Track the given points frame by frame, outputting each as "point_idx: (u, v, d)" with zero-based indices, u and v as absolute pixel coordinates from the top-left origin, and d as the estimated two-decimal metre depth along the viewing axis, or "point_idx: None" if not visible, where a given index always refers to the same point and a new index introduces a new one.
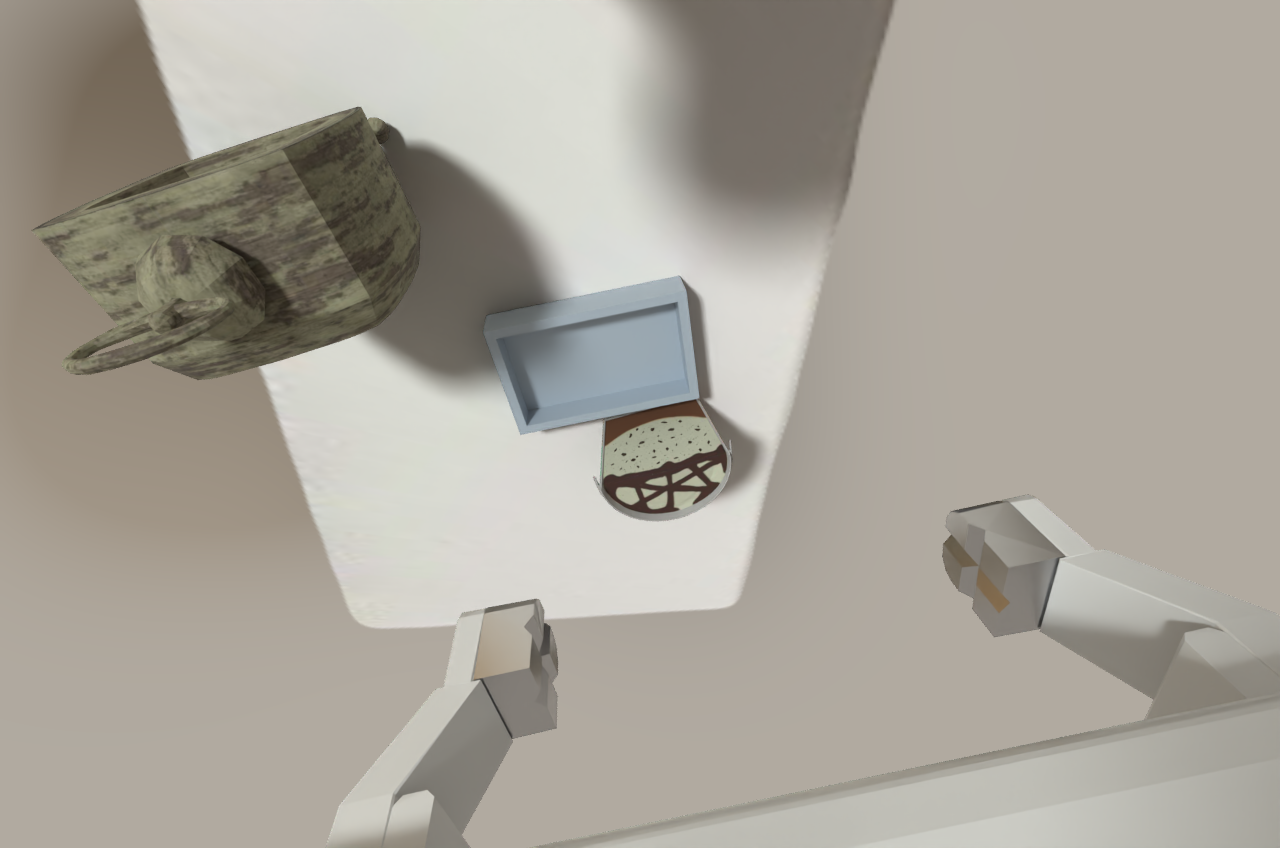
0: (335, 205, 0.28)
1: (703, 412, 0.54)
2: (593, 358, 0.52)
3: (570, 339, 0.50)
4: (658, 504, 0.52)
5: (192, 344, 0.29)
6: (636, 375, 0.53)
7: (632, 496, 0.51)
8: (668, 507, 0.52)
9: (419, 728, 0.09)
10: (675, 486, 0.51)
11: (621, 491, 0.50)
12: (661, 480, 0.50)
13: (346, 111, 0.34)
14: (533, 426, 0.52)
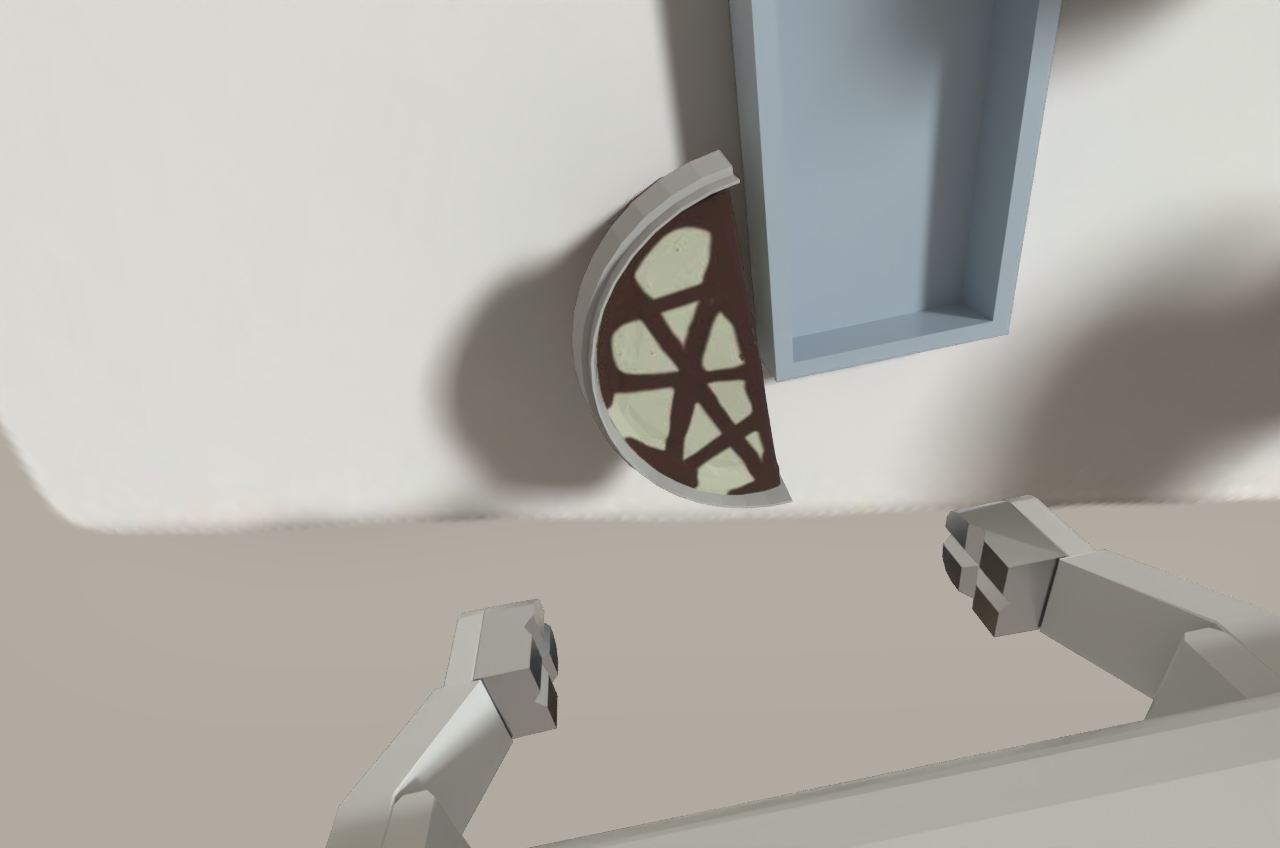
0: None
1: None
2: (863, 145, 0.24)
3: (919, 92, 0.23)
4: (628, 353, 0.18)
5: None
6: (801, 244, 0.26)
7: (669, 278, 0.17)
8: (616, 379, 0.19)
9: (419, 728, 0.09)
10: (692, 390, 0.19)
11: (693, 244, 0.17)
12: (726, 356, 0.18)
13: None
14: None
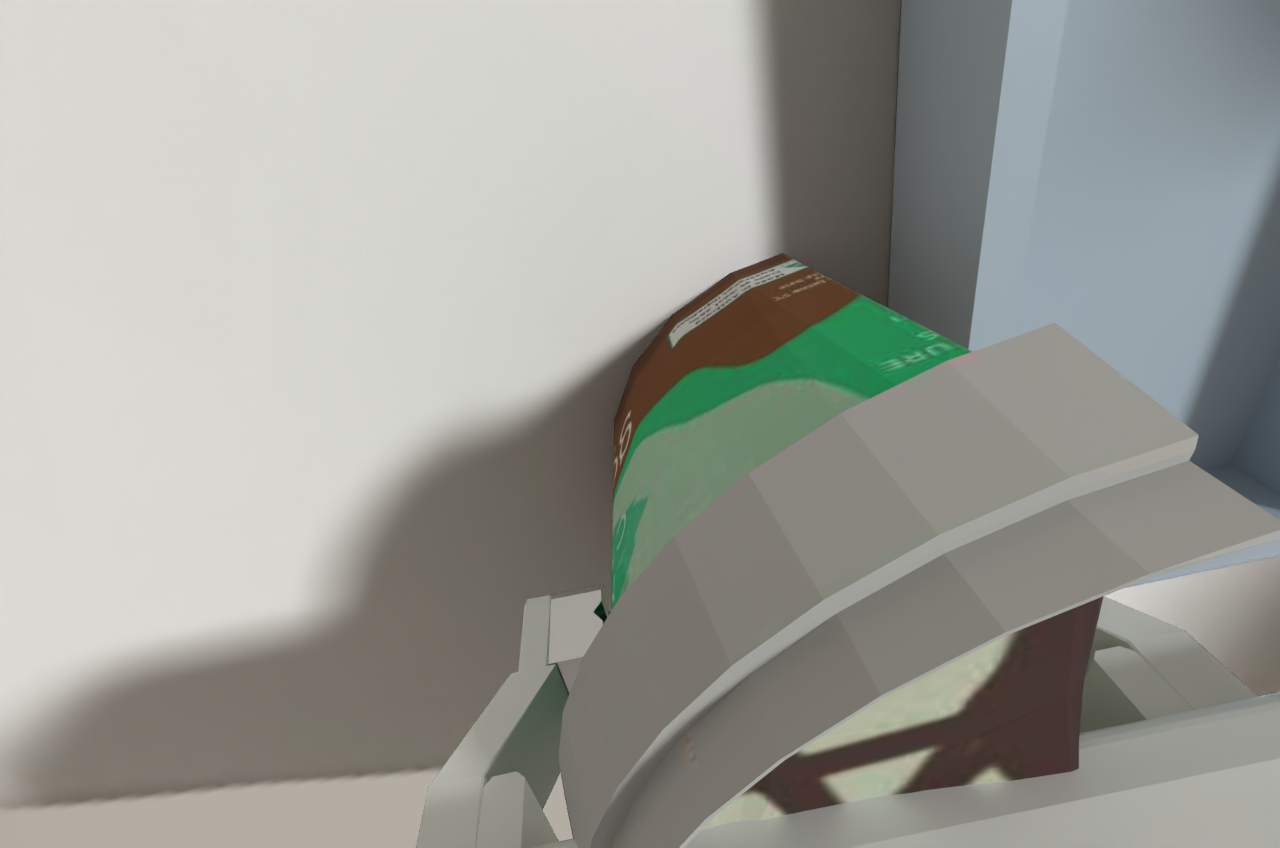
0: None
1: None
2: (1131, 212, 0.12)
3: (1264, 110, 0.11)
4: None
5: None
6: None
7: (862, 710, 0.05)
8: None
9: (500, 711, 0.09)
10: None
11: None
12: None
13: None
14: None
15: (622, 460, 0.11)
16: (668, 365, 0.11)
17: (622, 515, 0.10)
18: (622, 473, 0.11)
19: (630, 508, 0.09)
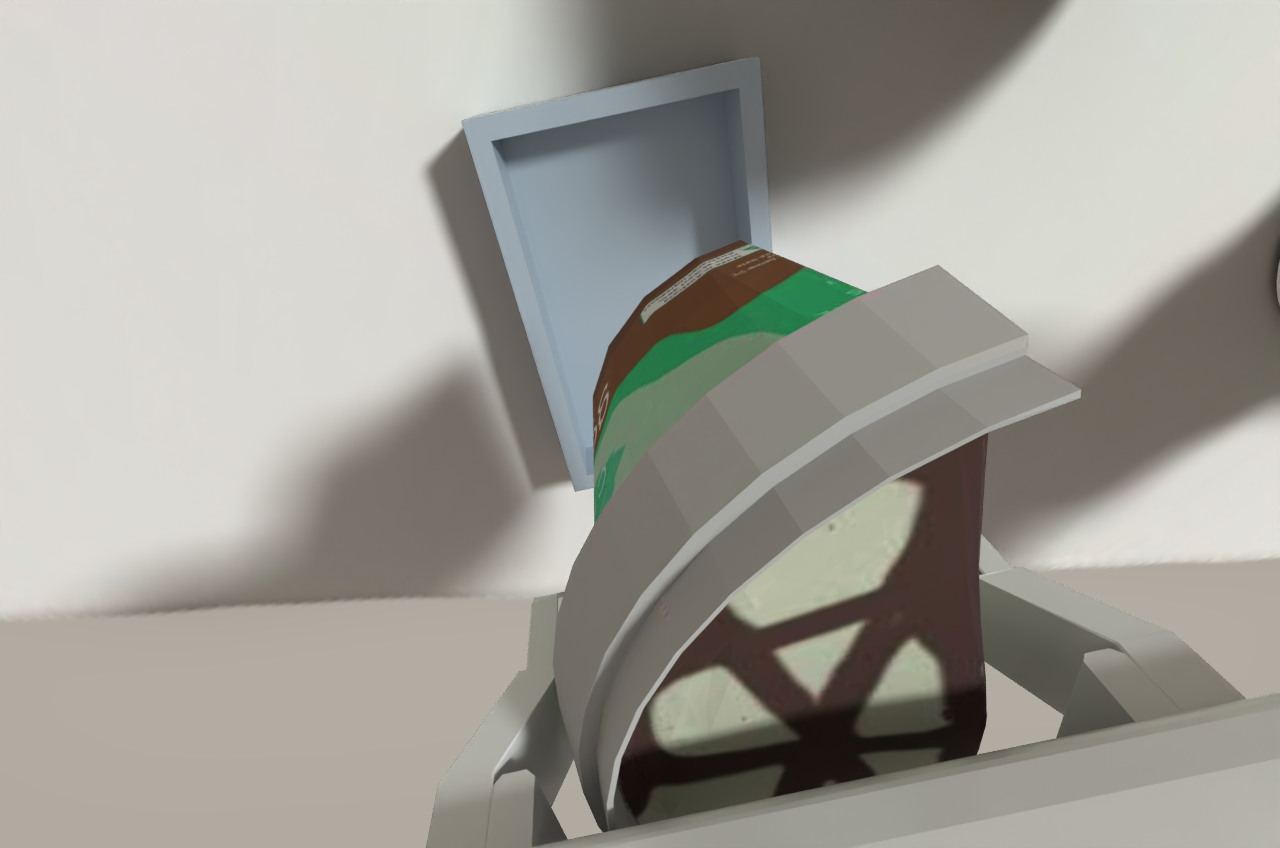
0: None
1: None
2: (633, 287, 0.26)
3: (677, 244, 0.26)
4: (688, 723, 0.08)
5: None
6: (592, 368, 0.28)
7: (802, 585, 0.07)
8: (658, 768, 0.08)
9: (508, 709, 0.09)
10: (824, 764, 0.09)
11: (873, 513, 0.06)
12: (912, 714, 0.08)
13: None
14: (490, 160, 0.21)
15: (601, 426, 0.13)
16: (640, 338, 0.12)
17: (602, 468, 0.11)
18: (601, 436, 0.12)
19: (609, 459, 0.11)
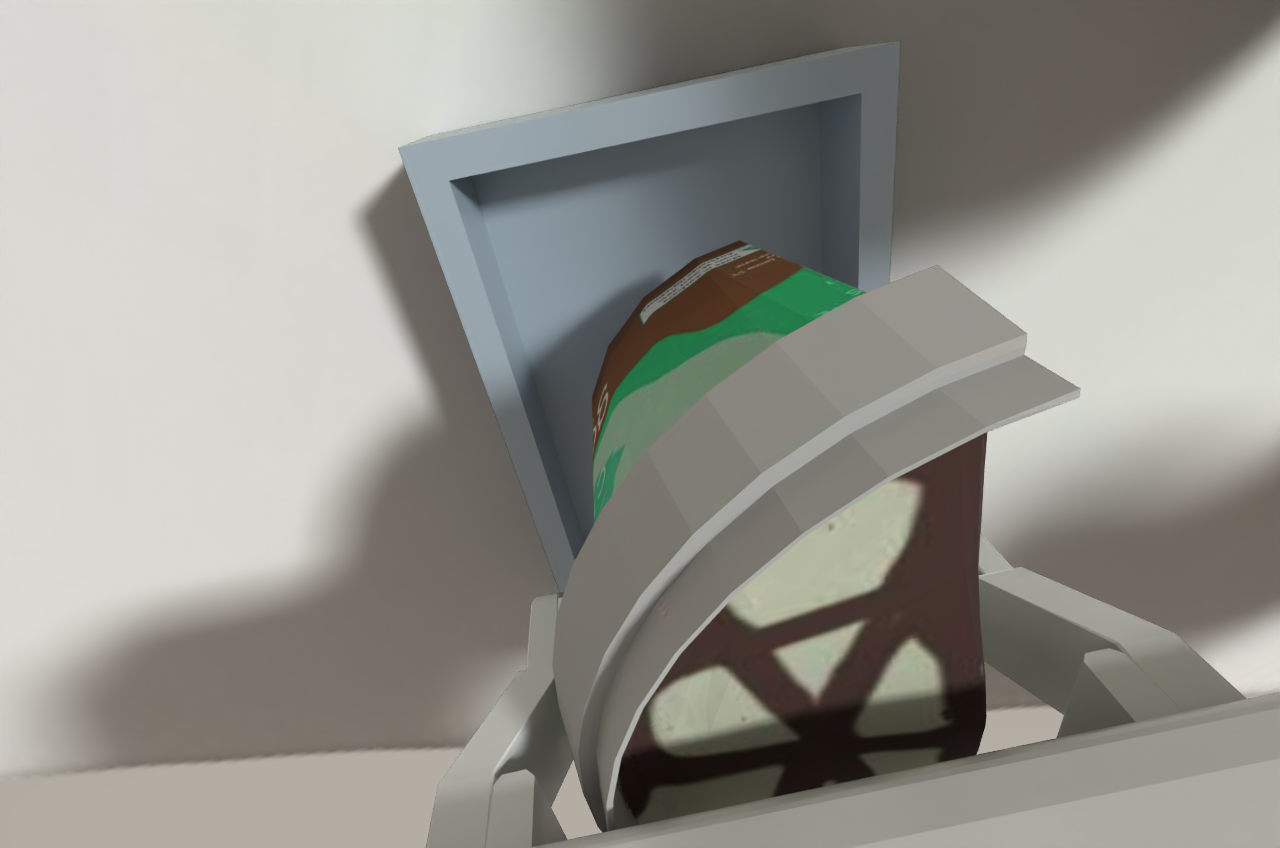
0: None
1: None
2: None
3: None
4: (688, 723, 0.08)
5: None
6: None
7: (802, 585, 0.07)
8: (658, 768, 0.08)
9: (508, 710, 0.09)
10: (823, 765, 0.09)
11: (873, 513, 0.06)
12: (912, 715, 0.08)
13: None
14: (449, 212, 0.13)
15: (600, 426, 0.13)
16: (640, 339, 0.12)
17: (602, 469, 0.11)
18: (601, 436, 0.12)
19: (609, 460, 0.11)
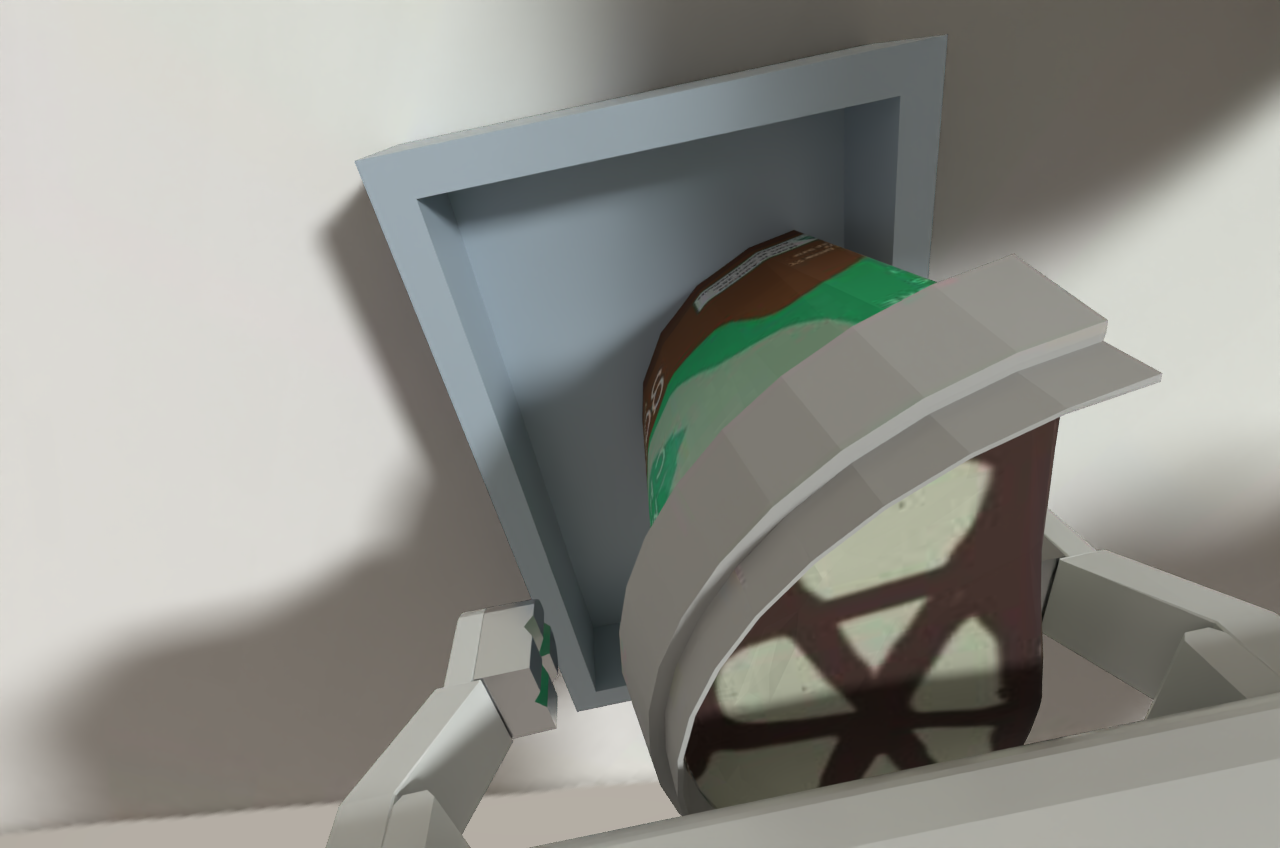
0: None
1: None
2: None
3: None
4: (751, 690, 0.08)
5: None
6: (604, 527, 0.18)
7: (870, 560, 0.07)
8: (719, 733, 0.09)
9: (419, 728, 0.09)
10: (877, 738, 0.09)
11: (943, 493, 0.07)
12: (969, 691, 0.08)
13: None
14: (418, 235, 0.11)
15: (656, 410, 0.13)
16: (696, 326, 0.13)
17: (660, 450, 0.11)
18: (657, 420, 0.13)
19: (669, 442, 0.11)
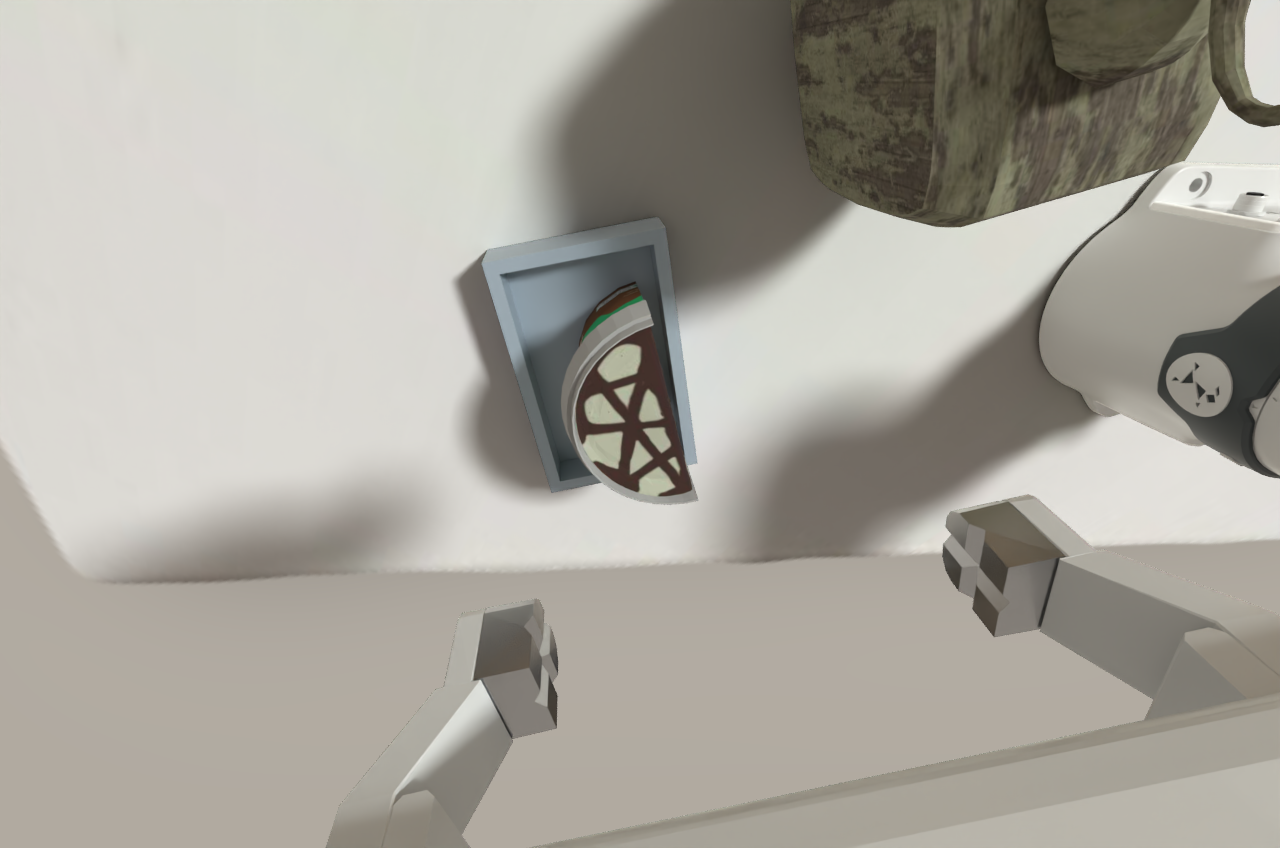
0: (1080, 191, 0.22)
1: None
2: None
3: None
4: (594, 412, 0.31)
5: None
6: None
7: (617, 370, 0.30)
8: (587, 427, 0.31)
9: (419, 728, 0.09)
10: (634, 433, 0.32)
11: (630, 353, 0.29)
12: (653, 413, 0.31)
13: None
14: (499, 285, 0.33)
15: None
16: (594, 317, 0.35)
17: None
18: None
19: None
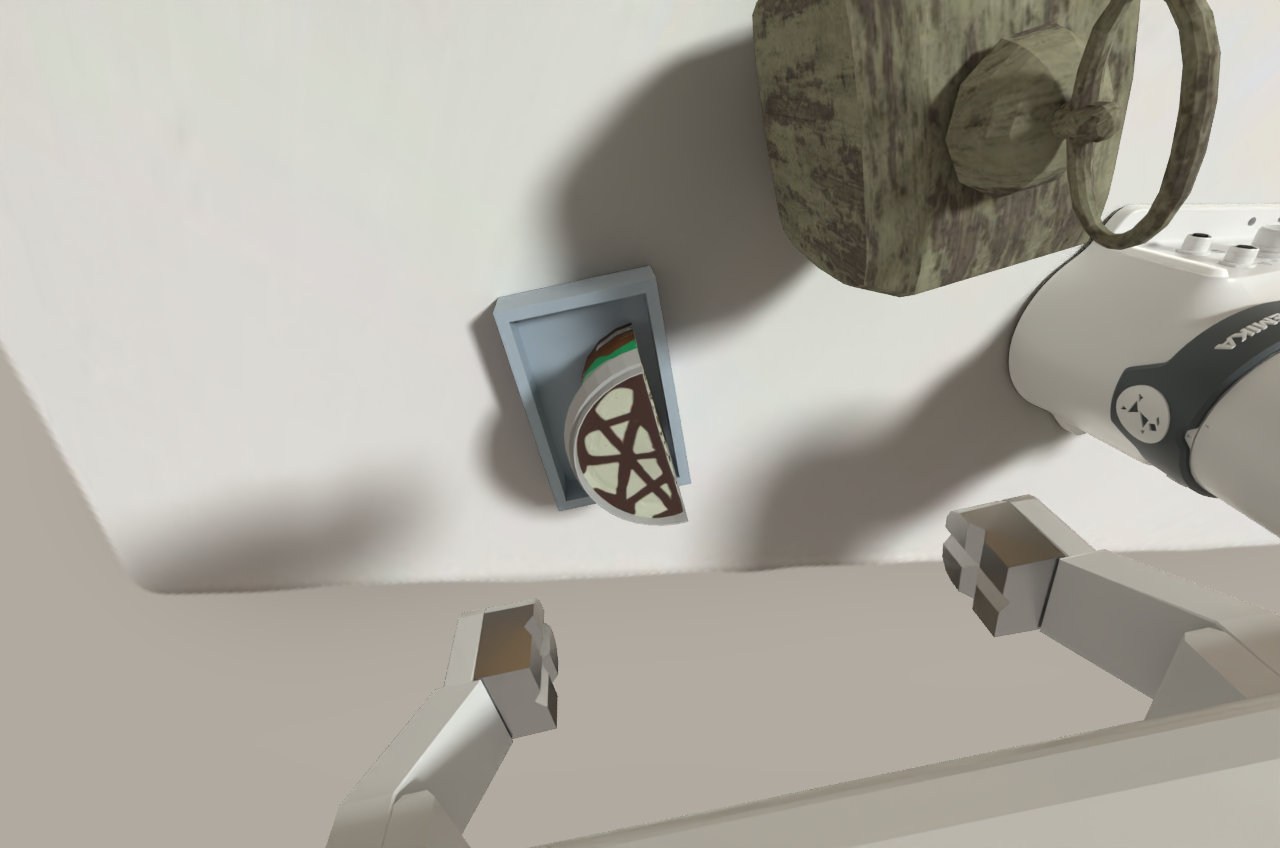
0: None
1: (668, 452, 0.43)
2: None
3: None
4: (593, 446, 0.35)
5: (937, 43, 0.19)
6: None
7: (613, 410, 0.34)
8: (587, 459, 0.35)
9: (419, 728, 0.09)
10: (629, 463, 0.36)
11: (624, 395, 0.33)
12: (645, 446, 0.35)
13: None
14: (508, 331, 0.38)
15: (581, 383, 0.40)
16: (594, 356, 0.39)
17: None
18: (581, 386, 0.39)
19: None
